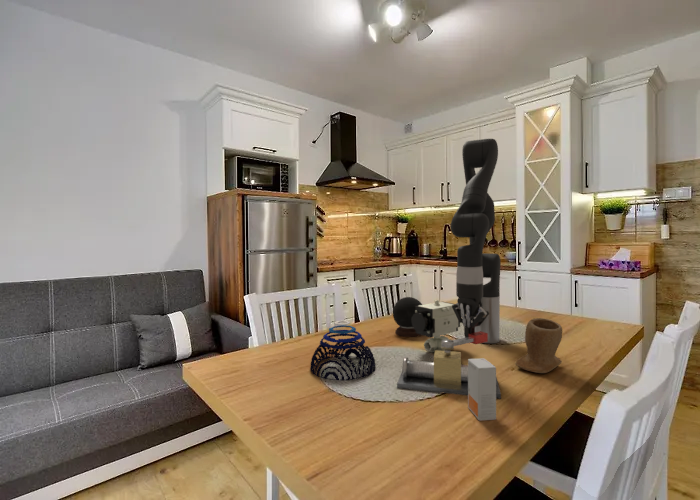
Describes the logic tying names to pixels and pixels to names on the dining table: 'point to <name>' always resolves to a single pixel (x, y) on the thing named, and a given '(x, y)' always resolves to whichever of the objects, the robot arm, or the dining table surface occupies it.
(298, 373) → the dining table surface
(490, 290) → the robot arm
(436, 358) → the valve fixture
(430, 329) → the ball valve
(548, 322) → the stone cup
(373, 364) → the decorative bowl
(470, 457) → the dining table surface
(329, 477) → the dining table surface
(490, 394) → the skincare box
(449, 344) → the valve lever
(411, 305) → the black ball on base
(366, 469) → the dining table surface
